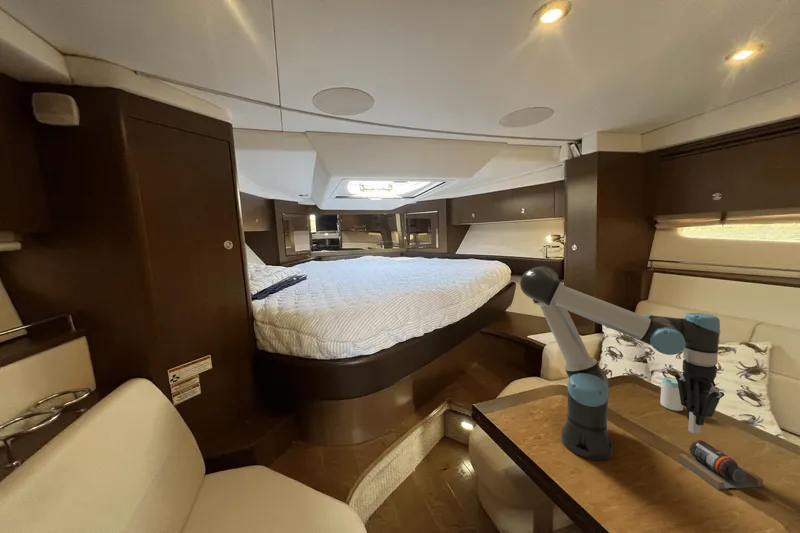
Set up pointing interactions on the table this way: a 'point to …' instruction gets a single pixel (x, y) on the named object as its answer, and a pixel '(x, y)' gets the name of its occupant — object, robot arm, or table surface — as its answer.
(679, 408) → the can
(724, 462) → the supplement bottle
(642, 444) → the table surface
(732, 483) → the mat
